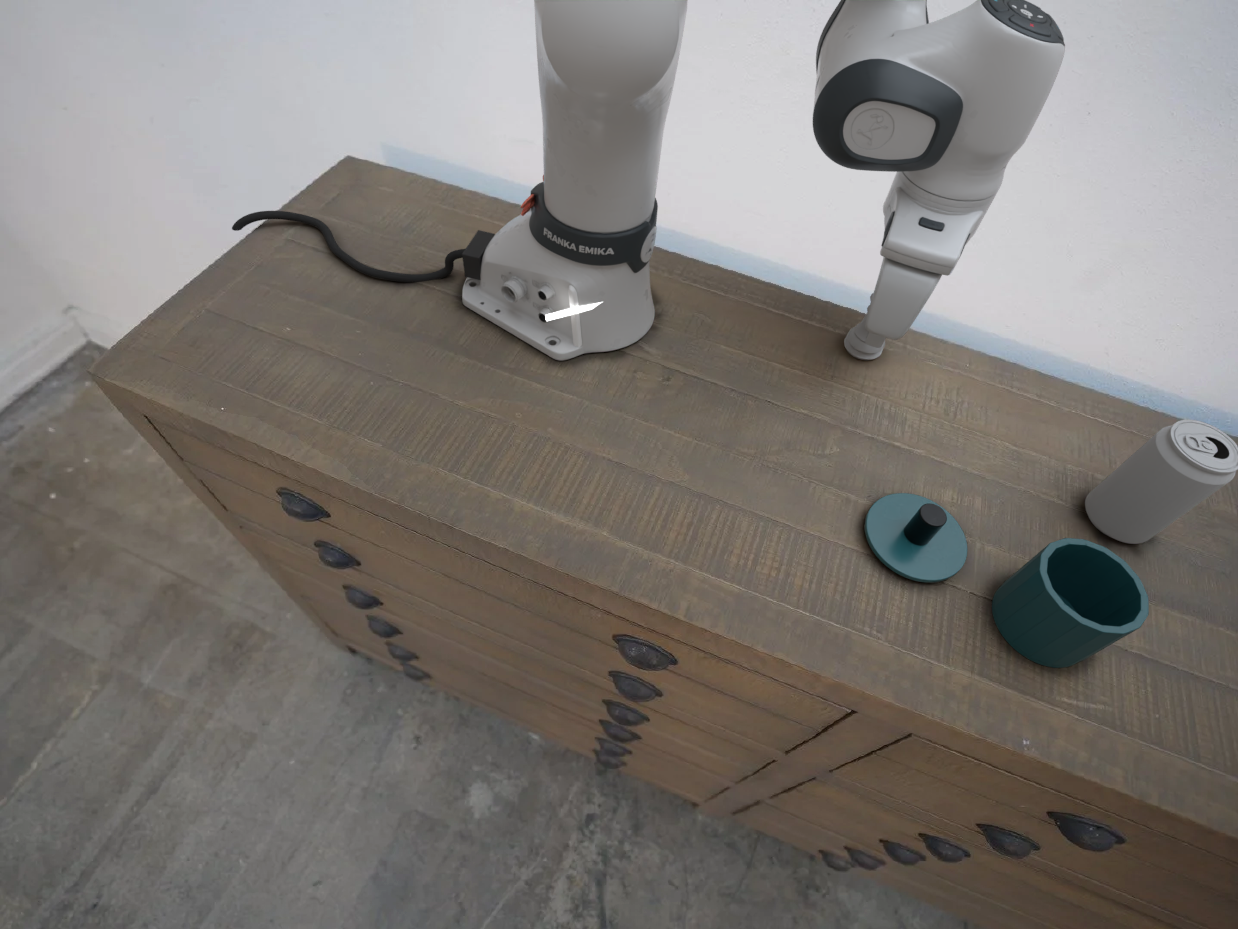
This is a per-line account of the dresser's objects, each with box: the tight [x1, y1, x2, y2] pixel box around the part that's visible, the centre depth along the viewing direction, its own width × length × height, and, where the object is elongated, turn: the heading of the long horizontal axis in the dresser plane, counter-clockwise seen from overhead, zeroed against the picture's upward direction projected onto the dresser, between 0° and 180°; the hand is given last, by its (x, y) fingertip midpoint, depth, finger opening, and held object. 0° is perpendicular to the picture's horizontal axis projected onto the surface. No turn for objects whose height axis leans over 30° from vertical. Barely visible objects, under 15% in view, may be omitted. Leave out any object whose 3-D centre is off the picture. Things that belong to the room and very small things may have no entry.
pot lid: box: [864, 492, 968, 584], centre depth 61 cm, size 9×9×5 cm
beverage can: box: [1084, 419, 1238, 545], centre depth 62 cm, size 6×6×12 cm
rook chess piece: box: [843, 292, 886, 361], centre depth 75 cm, size 4×4×8 cm
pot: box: [991, 537, 1150, 669], centre depth 56 cm, size 8×8×8 cm
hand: (882, 315), depth 75 cm, fingers open, 8 cm apart
